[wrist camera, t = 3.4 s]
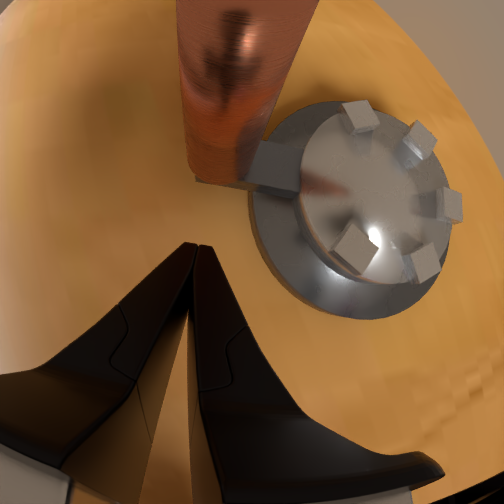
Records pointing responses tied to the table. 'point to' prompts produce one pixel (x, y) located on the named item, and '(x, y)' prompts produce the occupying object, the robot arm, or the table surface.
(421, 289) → the flange base
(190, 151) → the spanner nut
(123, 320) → the robot arm
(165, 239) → the table surface
